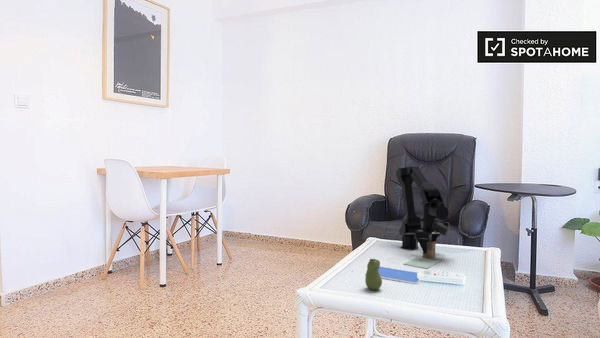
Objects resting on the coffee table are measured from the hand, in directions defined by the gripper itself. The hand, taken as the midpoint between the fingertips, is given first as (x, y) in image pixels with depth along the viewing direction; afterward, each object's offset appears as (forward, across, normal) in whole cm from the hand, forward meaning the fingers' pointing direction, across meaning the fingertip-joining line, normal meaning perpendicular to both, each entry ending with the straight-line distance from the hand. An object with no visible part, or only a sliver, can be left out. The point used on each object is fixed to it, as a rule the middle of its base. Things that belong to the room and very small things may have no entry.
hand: (429, 251), depth 172 cm
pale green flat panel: (+3, -11, -1) cm, 11 cm away
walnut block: (+3, 0, 0) cm, 3 cm away
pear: (+3, -53, -1) cm, 53 cm away
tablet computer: (+3, -34, 0) cm, 34 cm away
